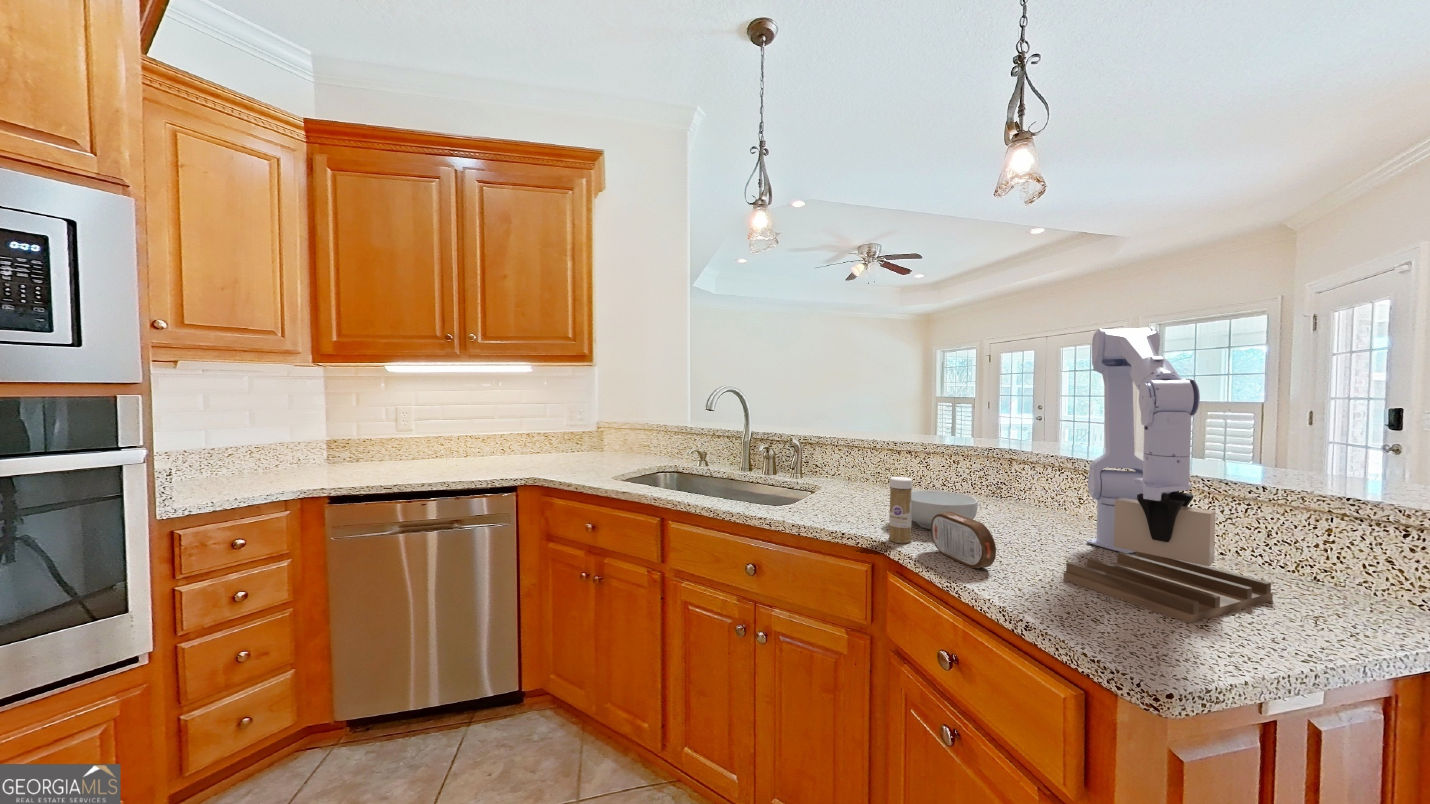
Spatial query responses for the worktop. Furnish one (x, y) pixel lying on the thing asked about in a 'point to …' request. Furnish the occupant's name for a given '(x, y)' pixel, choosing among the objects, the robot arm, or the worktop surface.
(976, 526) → the tin
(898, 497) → the sprinkles bottle
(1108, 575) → the rack
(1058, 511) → the worktop surface
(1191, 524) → the beige rectangular board
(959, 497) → the cereal bowl
